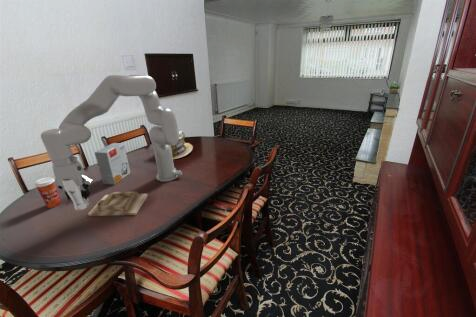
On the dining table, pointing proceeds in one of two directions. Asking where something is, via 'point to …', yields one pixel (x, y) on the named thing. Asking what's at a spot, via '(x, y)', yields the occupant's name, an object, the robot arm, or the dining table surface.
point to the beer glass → (76, 194)
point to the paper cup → (48, 191)
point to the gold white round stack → (181, 147)
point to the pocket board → (118, 204)
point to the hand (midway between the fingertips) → (79, 197)
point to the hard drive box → (112, 163)
